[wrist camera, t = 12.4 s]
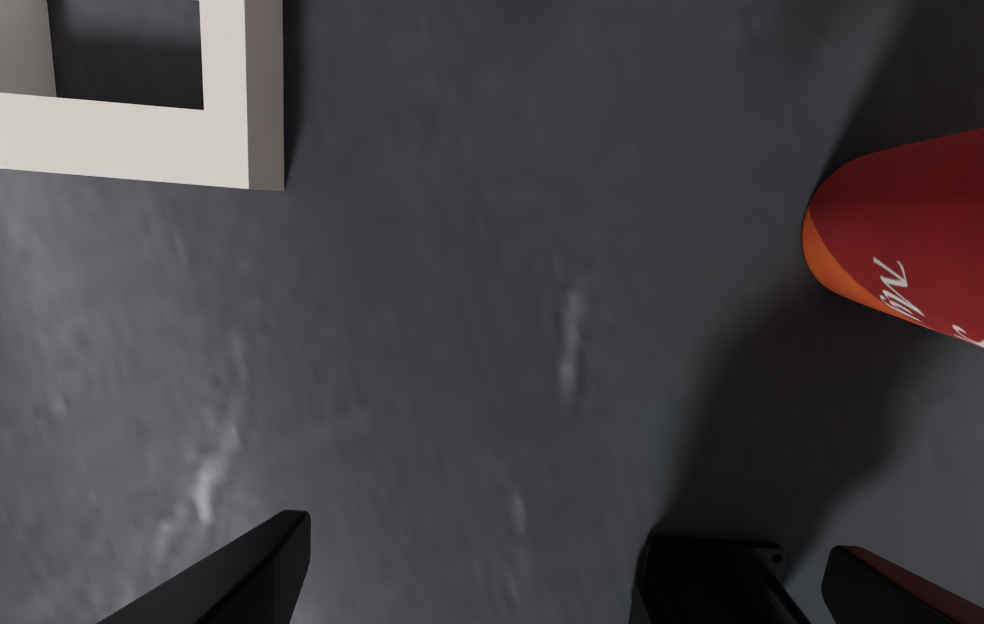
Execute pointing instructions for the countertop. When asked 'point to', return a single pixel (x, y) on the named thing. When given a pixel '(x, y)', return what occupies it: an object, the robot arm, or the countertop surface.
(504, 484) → the countertop surface
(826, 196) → the coffee cup
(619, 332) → the countertop surface
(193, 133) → the white hollow block
